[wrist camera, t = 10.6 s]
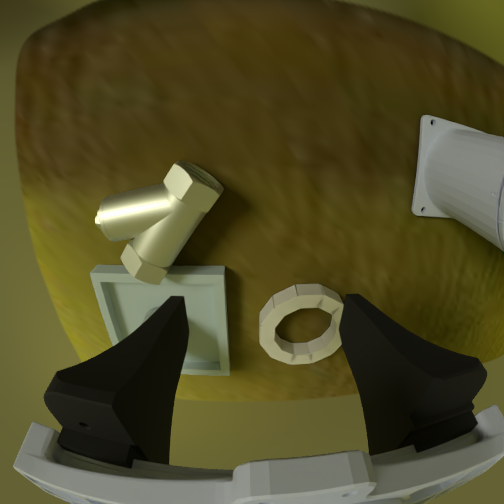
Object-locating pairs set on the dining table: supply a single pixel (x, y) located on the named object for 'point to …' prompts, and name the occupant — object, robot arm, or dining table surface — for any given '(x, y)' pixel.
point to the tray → (150, 295)
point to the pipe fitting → (158, 219)
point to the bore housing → (289, 303)
